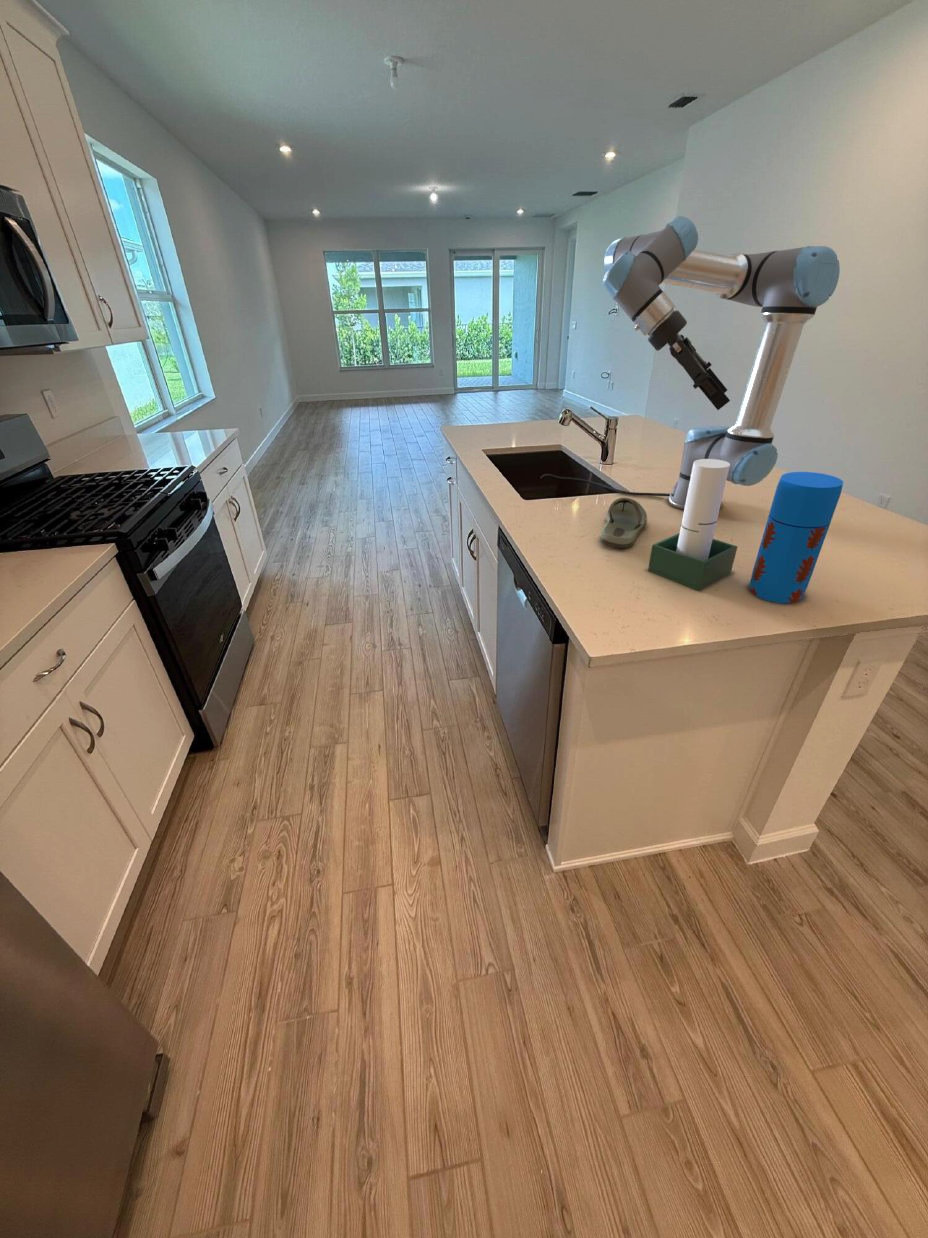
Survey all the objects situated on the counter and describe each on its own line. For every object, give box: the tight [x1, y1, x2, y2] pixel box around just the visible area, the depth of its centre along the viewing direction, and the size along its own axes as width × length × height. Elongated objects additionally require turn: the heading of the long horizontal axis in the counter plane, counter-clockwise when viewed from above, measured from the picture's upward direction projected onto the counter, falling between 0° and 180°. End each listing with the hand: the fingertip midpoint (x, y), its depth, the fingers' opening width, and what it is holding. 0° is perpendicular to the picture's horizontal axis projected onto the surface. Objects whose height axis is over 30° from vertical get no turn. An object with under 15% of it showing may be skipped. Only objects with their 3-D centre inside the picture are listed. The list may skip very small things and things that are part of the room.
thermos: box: [748, 471, 844, 604], centre depth 105 cm, size 11×11×25 cm
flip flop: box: [598, 497, 648, 549], centre depth 142 cm, size 29×12×8 cm, turn 155°
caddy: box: [647, 532, 739, 591], centre depth 120 cm, size 13×13×7 cm
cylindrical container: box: [676, 459, 730, 561], centre depth 114 cm, size 7×7×25 cm
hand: (723, 399), depth 110 cm, fingers open, 13 cm apart
